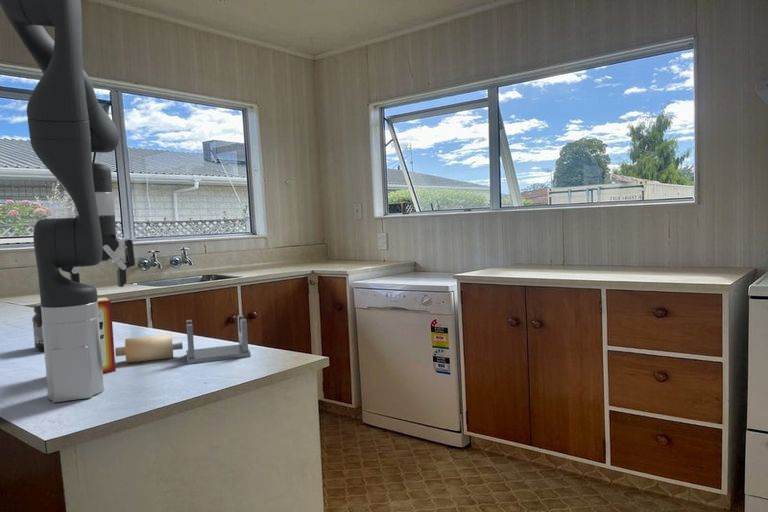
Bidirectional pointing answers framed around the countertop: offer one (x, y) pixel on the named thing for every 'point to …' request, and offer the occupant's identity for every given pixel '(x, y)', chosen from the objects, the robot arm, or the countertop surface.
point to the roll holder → (218, 352)
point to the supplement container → (38, 328)
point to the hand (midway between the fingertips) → (99, 288)
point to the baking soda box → (106, 334)
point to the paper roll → (148, 348)
